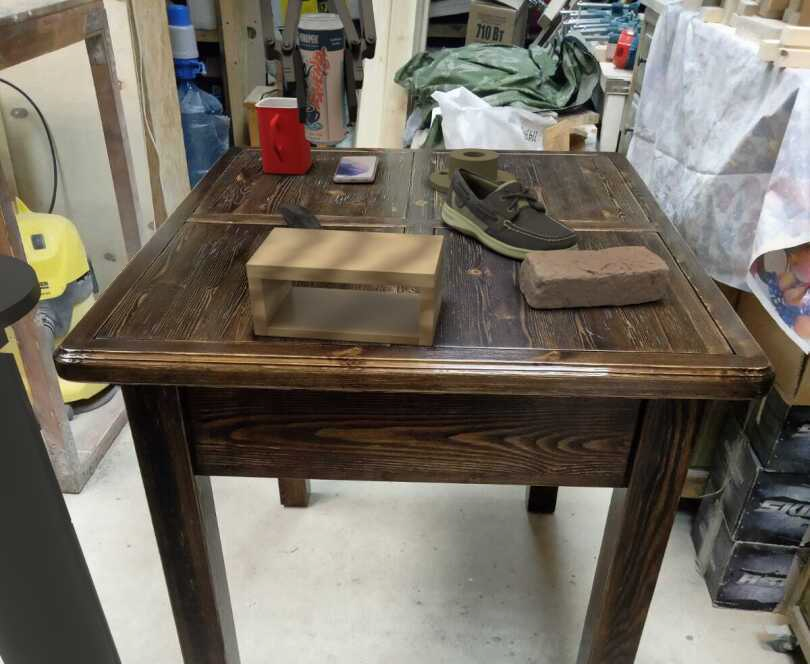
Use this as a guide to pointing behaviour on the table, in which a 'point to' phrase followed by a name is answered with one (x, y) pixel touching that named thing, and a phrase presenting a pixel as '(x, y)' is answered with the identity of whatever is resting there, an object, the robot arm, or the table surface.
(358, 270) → the shelf
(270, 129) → the mug
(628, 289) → the brick
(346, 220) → the table surface
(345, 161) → the smartphone
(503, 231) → the boat shoe
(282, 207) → the tool
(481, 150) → the flange
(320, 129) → the beer can
